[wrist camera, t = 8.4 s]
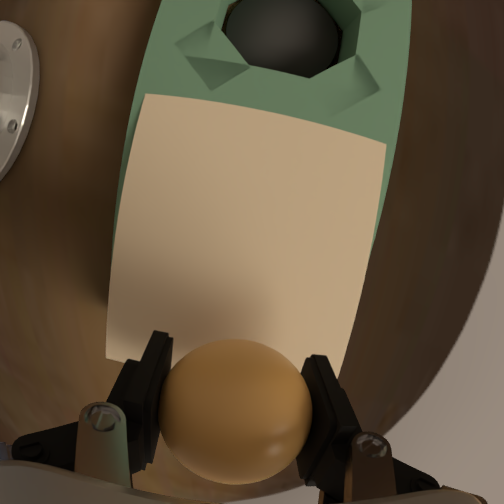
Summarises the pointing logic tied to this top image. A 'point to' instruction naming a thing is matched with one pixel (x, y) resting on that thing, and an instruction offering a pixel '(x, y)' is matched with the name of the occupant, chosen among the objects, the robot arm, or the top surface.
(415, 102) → the top surface
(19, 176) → the top surface
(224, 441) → the ball
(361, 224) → the putting mat
